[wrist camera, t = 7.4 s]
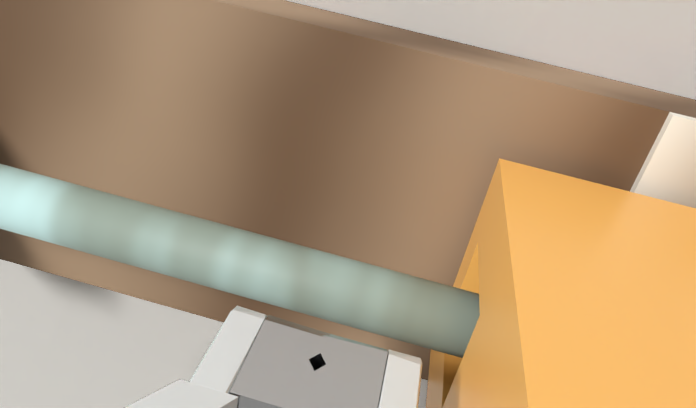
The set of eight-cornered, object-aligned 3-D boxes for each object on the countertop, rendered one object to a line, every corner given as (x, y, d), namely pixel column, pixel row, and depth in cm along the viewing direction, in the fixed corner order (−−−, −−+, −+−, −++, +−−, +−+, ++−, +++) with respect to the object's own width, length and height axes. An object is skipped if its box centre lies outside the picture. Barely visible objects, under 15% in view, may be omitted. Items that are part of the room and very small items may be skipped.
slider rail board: (988, 170, 11) (1588, 485, 5) (765, 434, 15) (962, 787, 9) (-195, -116, 13) (-771, -128, 7) (-121, 186, 17) (-448, 346, 11)
